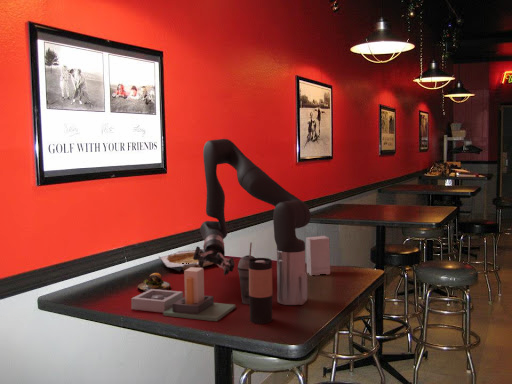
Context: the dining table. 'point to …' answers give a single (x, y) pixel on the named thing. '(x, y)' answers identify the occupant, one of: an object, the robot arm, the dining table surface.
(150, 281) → the burger
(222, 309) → the header board
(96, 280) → the dining table surface
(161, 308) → the fan
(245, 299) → the beverage cup
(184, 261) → the oval serving dish
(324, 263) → the skincare box
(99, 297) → the dining table surface
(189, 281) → the plug
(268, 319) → the travel mug
